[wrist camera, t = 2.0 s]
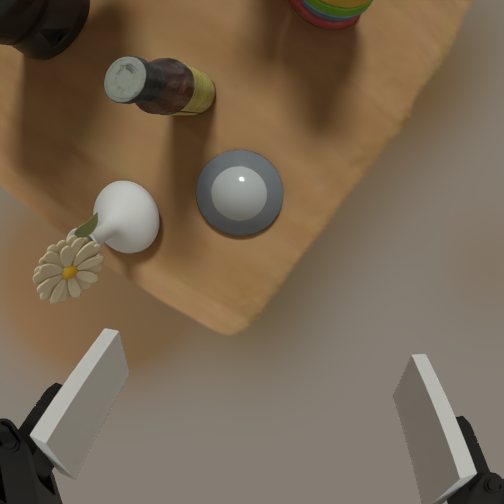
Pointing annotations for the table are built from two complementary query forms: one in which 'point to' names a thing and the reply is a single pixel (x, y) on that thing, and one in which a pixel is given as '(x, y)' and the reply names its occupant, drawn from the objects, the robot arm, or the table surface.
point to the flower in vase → (98, 241)
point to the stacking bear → (331, 11)
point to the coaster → (239, 192)
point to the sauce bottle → (159, 86)
